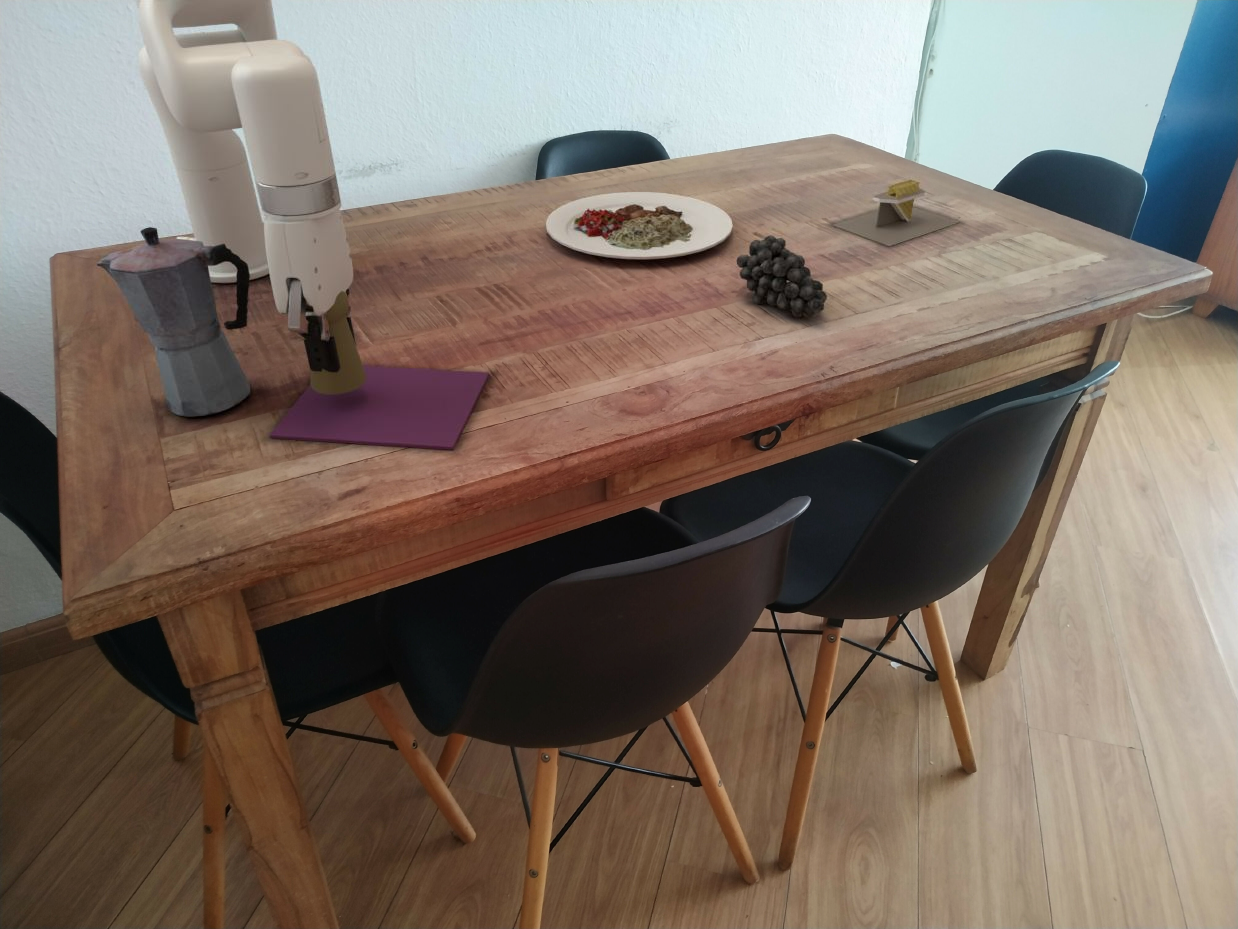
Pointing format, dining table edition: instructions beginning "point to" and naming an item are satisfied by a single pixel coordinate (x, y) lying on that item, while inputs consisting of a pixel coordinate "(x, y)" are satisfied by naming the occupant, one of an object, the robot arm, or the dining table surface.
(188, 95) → the robot arm
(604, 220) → the plated food
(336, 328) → the pepper mill
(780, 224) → the dining table surface
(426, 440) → the placemat
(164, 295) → the moka pot
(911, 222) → the platform
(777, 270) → the fruit
